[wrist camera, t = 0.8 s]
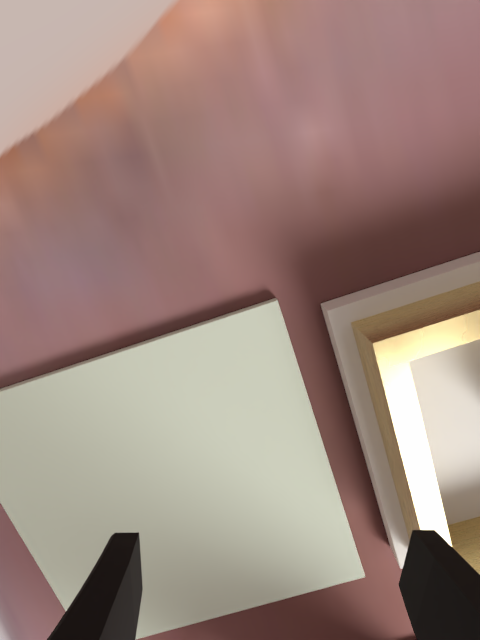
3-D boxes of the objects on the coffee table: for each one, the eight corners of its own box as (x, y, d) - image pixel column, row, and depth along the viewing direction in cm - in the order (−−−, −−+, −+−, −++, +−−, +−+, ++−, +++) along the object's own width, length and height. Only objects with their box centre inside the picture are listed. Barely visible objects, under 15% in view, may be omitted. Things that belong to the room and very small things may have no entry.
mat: (362, 568, 24) (365, 576, 24) (93, 641, 25) (90, 651, 25) (276, 297, 20) (277, 300, 19) (-48, 404, 21) (-56, 410, 20)
